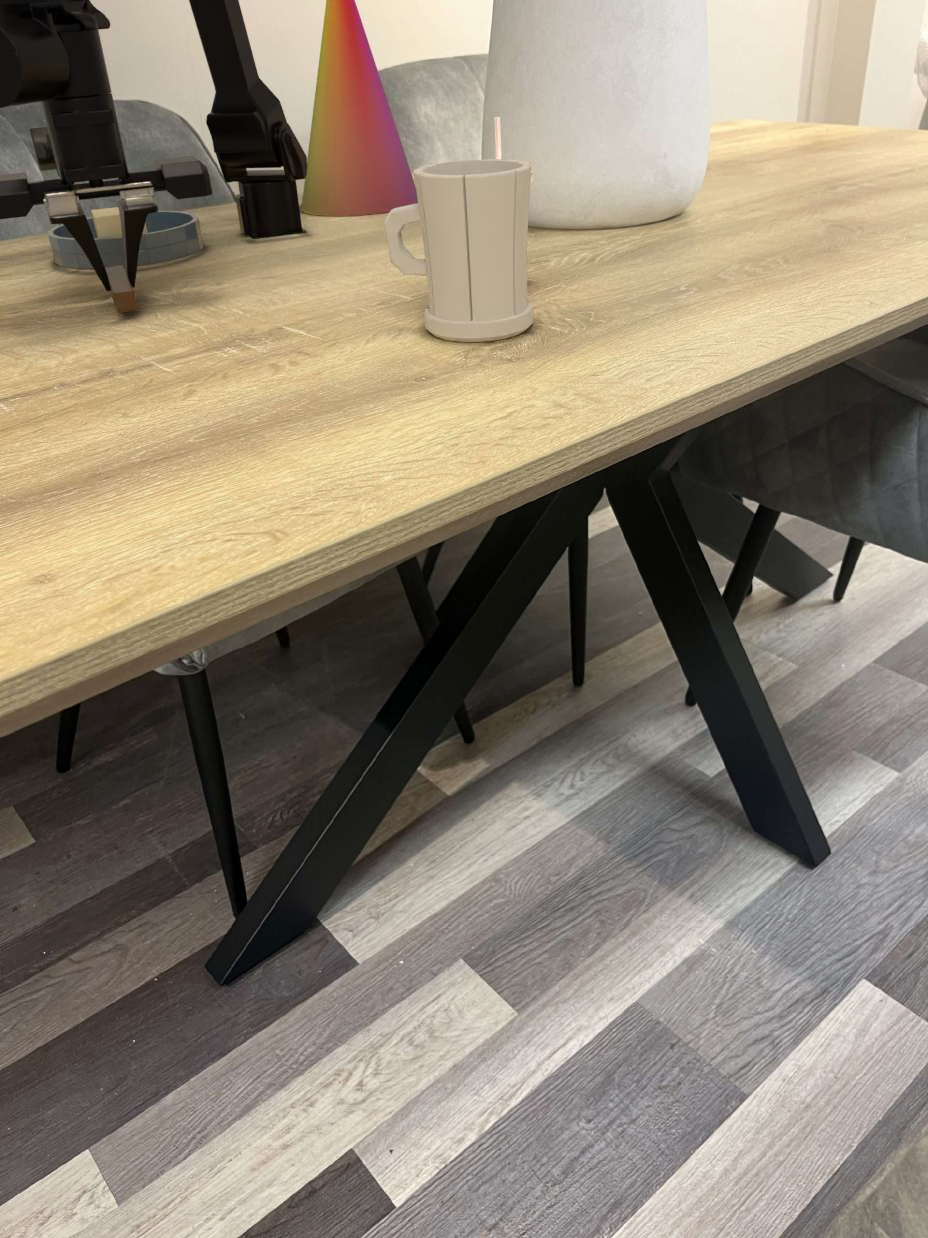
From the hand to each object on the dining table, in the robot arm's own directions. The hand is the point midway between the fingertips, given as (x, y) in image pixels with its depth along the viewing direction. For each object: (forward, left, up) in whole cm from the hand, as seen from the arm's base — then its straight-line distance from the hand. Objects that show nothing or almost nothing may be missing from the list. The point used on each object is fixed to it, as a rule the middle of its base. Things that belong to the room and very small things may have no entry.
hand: (120, 288), depth 90 cm
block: (-2, -21, -2) cm, 21 cm away
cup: (-25, +23, -2) cm, 34 cm away
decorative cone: (-35, -41, -2) cm, 54 cm away
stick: (0, 0, -1) cm, 1 cm away
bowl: (-3, -25, -2) cm, 25 cm away
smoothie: (-33, +11, -2) cm, 35 cm away
